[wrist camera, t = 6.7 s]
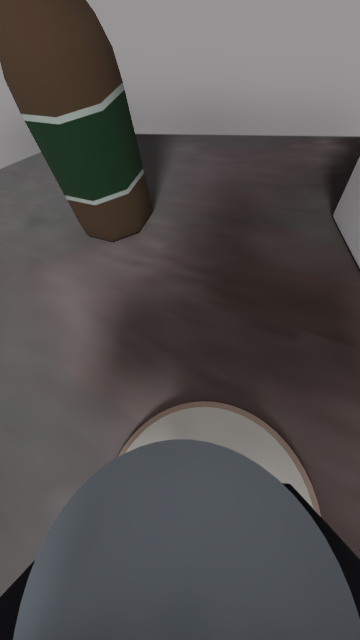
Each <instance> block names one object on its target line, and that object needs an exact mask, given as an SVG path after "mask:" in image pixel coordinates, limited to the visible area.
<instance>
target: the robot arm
mask: <svg viewBox="0 0 360 640" xmlns="http://www.w3.org/2000/svg"><path fill="white" fill-rule="evenodd" d="M282 484H283V485H284V486H285V487H286V488H287V489H288V490H289V491H290V492H291V493H292V494H293V495H294V496H295V497H296V498H297V500H298V501H299V502H300V503H301V504H302V506H303V507H304V508H305V509H306V510H307V512H308V513H309V514H310V516H311V517H312V519H313V520H314V522H315V523H316V525H317V526H318V528H319V529H320V531H321V532H322V534H323V535H324V537H325V538H326V540H327V542H328V544H329V546H330V548H331V549H332V551H333V553H334V555H335V557H336V559H337V561H338V563H339V565H340V567H341V569H342V572H343V574H344V577H345V579H346V581H347V584H348V586H349V588H350V591H351V593H352V596H353V599H354V603H355V606H356V609H357V612H358V615H359V618H360V559H359V558H358V557H357V556H356V555H355V554H354V553H353V552H352V550H351V549H350V548H349V547H348V546H347V545H346V544H345V543H344V542H343V541H342V540H341V538H340V537H339V536H338V535H337V534H336V533H335V532H334V531H333V530H332V529H331V528H330V526H329V525H328V524H327V523H326V522H325V521H324V520H323V519H322V518H321V517H320V516H319V514H318V513H317V512H316V511H315V510H314V509H313V508H312V507H311V506H310V505H309V504H308V502H307V501H306V500H305V499H304V498H303V497H302V496H301V495H300V494H299V493H298V492H297V490H296V489H295V488H294V487H293V486H292V485H291V484H289V483H282ZM35 560H36V559H35ZM35 560H34V562H35ZM34 562H33V563H32V564H31V565H30V566H29V567H28V568H27V569H26V570H25V571H24V572H23V573H22V574H21V575H20V577H19V578H18V579H17V580H16V581H15V582H14V583H13V584H12V585H11V586H10V587H9V588H8V589H7V590H6V592H5V593H4V594H3V595H2V596H1V597H0V640H13V637H14V631H15V626H16V622H17V617H18V613H19V608H20V604H21V600H22V597H23V594H24V590H25V587H26V584H27V581H28V578H29V574H30V572H31V570H32V567H33V565H34Z"/></svg>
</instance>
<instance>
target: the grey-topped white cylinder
mask: <svg viewBox="0 0 360 640" xmlns="http://www.w3.org/2000/svg"><path fill="white" fill-rule="evenodd" d="M13 640H360V618H359V615H358V612H357V609H356V606H355V603H354V599H353V596H352V593H351V591H350V588H349V586H348V584H347V581H346V579H345V577H344V574H343V572H342V569H341V567H340V565H339V563H338V561H337V559H336V557H335V555H334V553H333V551H332V549H331V548H330V546H329V544H328V542H327V540H326V538H325V537H324V535H323V534H322V532H321V531H320V529H319V528H318V526H317V525H316V523H315V522H314V520H313V519H312V517H311V516H310V514H309V513H308V512H307V510H306V509H305V508H304V507H303V506H302V504H301V503H300V502H299V501H298V500H297V498H296V497H295V496H294V495H293V494H292V493H291V492H290V491H289V490H288V489H287V488H286V487H285V486H284V485H283V484H282V483H281V482H280V481H279V480H278V479H277V478H276V477H274V476H273V475H272V474H271V473H269V472H268V471H267V470H265V469H264V468H263V467H262V466H260V465H259V464H257V463H256V462H254V461H252V460H251V459H249V458H247V457H246V456H244V455H242V454H240V453H238V452H235V451H233V450H231V449H229V448H226V447H223V446H220V445H217V444H213V443H210V442H205V441H198V440H191V439H173V440H166V441H159V442H154V443H151V444H147V445H144V446H140V447H138V448H136V449H133V450H131V451H129V452H127V453H124V454H122V455H121V456H119V457H118V458H116V459H114V460H113V461H111V462H109V463H108V464H106V465H105V466H104V467H103V468H101V469H100V470H99V471H98V472H96V473H95V474H94V475H93V476H92V477H91V478H90V479H89V480H88V481H87V482H86V483H85V484H84V485H83V486H82V487H81V488H80V489H79V490H78V491H77V492H76V493H75V494H74V496H73V497H72V498H71V499H70V501H69V502H68V503H67V504H66V506H65V507H64V508H63V510H62V511H61V513H60V515H59V516H58V518H57V519H56V521H55V522H54V524H53V525H52V527H51V529H50V531H49V533H48V535H47V536H46V538H45V540H44V542H43V544H42V546H41V548H40V550H39V553H38V555H37V557H36V560H35V562H34V565H33V567H32V570H31V572H30V574H29V578H28V581H27V584H26V587H25V590H24V594H23V597H22V600H21V604H20V608H19V613H18V617H17V622H16V626H15V631H14V637H13Z"/></svg>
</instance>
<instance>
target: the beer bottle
mask: <svg viewBox="0 0 360 640" xmlns="http://www.w3.org/2000/svg"><path fill="white" fill-rule="evenodd" d="M0 62H1V66H2V70H3V74H4V78H5V80H6V83H7V85H8V87H9V89H10V91H11V93H12V95H13V98H14V100H15V102H16V104H17V106H18V108H19V111H20V113H21V115H22V116H23V118H24V120H25V122H26V124H27V126H28V128H29V129H30V132H31V133H32V135H33V137H34V139H35V141H36V143H37V145H38V146H39V148H40V150H41V152H42V154H43V156H44V158H45V159H46V161H47V163H48V165H49V167H50V169H51V171H52V172H53V174H54V176H55V178H56V180H57V182H58V184H59V185H60V187H61V189H62V191H63V193H64V195H65V197H66V199H67V200H68V202H69V204H70V206H71V208H72V210H73V212H74V213H75V215H76V217H77V219H78V221H79V222H80V224H81V226H82V227H83V229H84V231H85V232H86V234H87V235H88V236H90V237H94V238H98V239H102V240H106V241H110V242H115V241H118V240H120V239H123V238H126V237H128V236H131V235H134V234H137V233H139V232H140V230H141V229H142V227H143V226H144V224H145V223H146V221H147V220H148V218H149V217H150V215H151V213H152V208H151V202H150V197H149V192H148V188H147V184H146V179H145V175H144V171H143V167H142V162H141V158H140V154H139V150H138V145H137V141H136V137H135V132H134V128H133V125H132V120H131V115H130V112H129V107H128V103H127V99H126V94H125V90H124V86H123V82H122V78H121V75H120V72H119V68H118V65H117V61H116V58H115V55H114V51H113V48H112V46H111V44H110V42H109V40H108V38H107V36H106V34H105V32H104V30H103V28H102V26H101V24H100V22H99V20H98V18H97V16H96V14H95V12H94V11H93V10H92V8H91V7H90V6H89V4H88V3H87V1H86V0H0Z"/></svg>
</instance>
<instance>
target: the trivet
mask: <svg viewBox="0 0 360 640" xmlns="http://www.w3.org/2000/svg"><path fill="white" fill-rule="evenodd" d="M173 439H191V440H198V441H205V442H210V443H213V444H217V445H220V446H223V447H226V448H229V449H231V450H233V451H235V452H238V453H240V454H242V455H244V456H246V457H247V458H249V459H251V460H252V461H254V462H256V463H257V464H259V465H260V466H262V467H263V468H264V469H265V470H267V471H268V472H269V473H271V474H272V475H273V476H274V477H276V478H277V479H278V480H279V481H280V482H281V483H289V484H291V485H292V486H293V487H294V488H295V489H296V490H297V492H298V493H299V494H300V495H301V496H302V497H303V498H304V499H305V500H306V501H307V502H308V504H309V505H310V506H311V507H312V508H313V509H314V510H315V511H316V512H317V513H318V514H319V516H320V517H321V514H320V509H319V505H318V501H317V499H316V496H315V493H314V490H313V487H312V484H311V482H310V480H309V478H308V476H307V474H306V471H305V469H304V468H303V466H302V464H301V463H300V461H299V459H298V458H297V456H296V455H295V453H294V452H293V451H292V449H291V448H290V447H289V445H288V444H287V443H286V442H285V441H284V440H283V439H282V438H281V436H280V435H279V434H278V433H277V432H276V431H274V430H273V429H272V428H271V427H270V426H269V425H267V424H266V423H265V422H263V421H262V420H260V419H259V418H257V417H256V416H254V415H252V414H250V413H249V412H247V411H245V410H243V409H240V408H237V407H234V406H232V405H228V404H223V403H219V402H208V401H202V402H190V403H185V404H181V405H178V406H174V407H171V408H169V409H167V410H165V411H163V412H161V413H159V414H157V415H156V416H154V417H153V418H151V419H150V420H148V421H147V422H146V423H145V424H144V425H142V426H141V427H140V428H139V429H138V430H137V431H136V432H135V433H134V434H133V435H132V437H131V438H130V439H129V440H128V442H127V443H126V444H125V446H124V447H123V448H122V450H121V452H120V454H119V455H118V457H119V456H121V455H122V454H124V453H127V452H129V451H131V450H133V449H136V448H138V447H140V446H144V445H147V444H151V443H154V442H159V441H166V440H173ZM118 457H117V458H118Z"/></svg>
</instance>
